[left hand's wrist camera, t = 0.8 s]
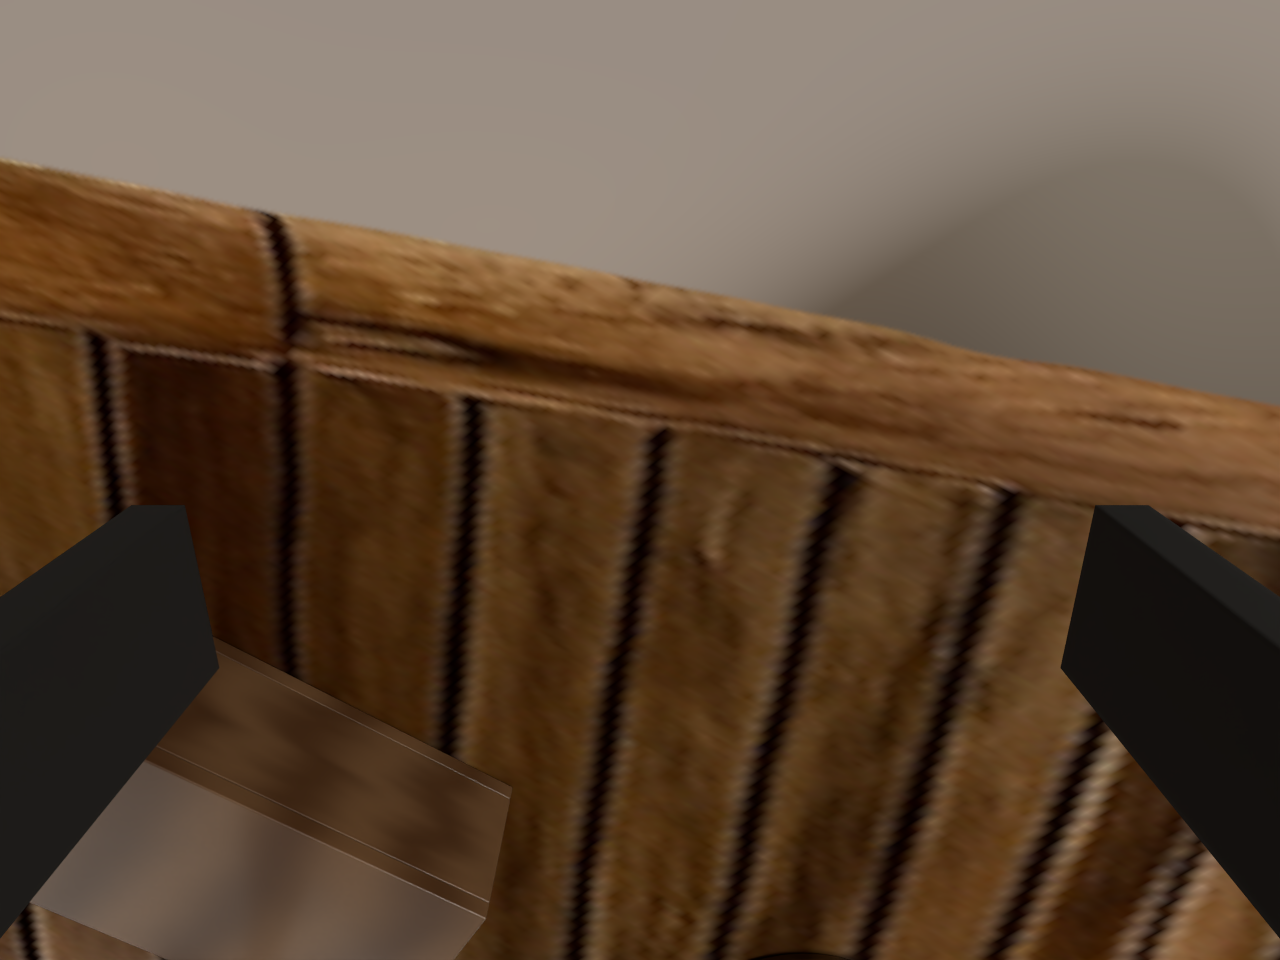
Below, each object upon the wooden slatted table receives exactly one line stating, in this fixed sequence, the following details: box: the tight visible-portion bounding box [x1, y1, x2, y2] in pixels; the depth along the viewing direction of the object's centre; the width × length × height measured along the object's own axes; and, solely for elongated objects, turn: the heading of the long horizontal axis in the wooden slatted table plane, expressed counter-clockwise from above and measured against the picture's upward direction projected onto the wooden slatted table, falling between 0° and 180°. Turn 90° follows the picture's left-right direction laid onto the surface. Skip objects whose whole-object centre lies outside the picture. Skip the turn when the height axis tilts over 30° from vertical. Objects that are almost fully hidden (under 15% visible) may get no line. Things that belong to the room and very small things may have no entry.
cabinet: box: [30, 637, 512, 960], centre depth 42 cm, size 21×11×9 cm, turn 57°
